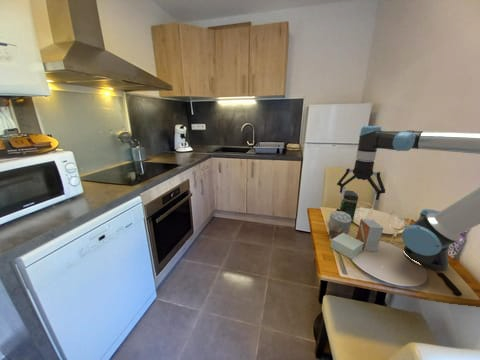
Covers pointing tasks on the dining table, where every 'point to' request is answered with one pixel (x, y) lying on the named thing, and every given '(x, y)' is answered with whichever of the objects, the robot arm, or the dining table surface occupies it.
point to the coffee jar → (349, 203)
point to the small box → (369, 234)
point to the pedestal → (347, 245)
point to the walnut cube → (334, 232)
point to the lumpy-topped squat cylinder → (340, 220)
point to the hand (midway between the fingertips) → (357, 202)
